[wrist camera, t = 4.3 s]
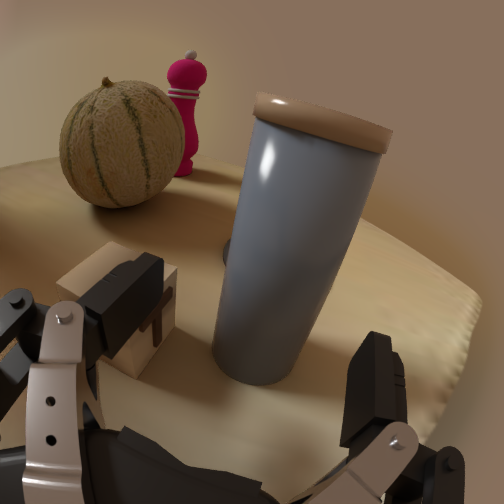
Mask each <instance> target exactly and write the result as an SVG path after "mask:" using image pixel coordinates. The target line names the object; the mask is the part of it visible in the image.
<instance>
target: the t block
mask: <svg viewBox="0 0 504 504" xmlns="http://www.w3.org/2000/svg"><path fill="white" fill-rule="evenodd" d="M141 254H142V253H139V252H137V251H134V250H132V249H129V248H127V247H124V246H122V245H119V244H117V243H114V242H112V241H110V242H108V243H107V244H105V245H104V246H103V247H101V248H100V249H99V250H97V251H96V252H94V253H93V254H92V255H90V256H89V257H88V258H86V259H85V260H84V261H82V262H81V263H80V264H78V265H77V266H76V267H74V268H73V269H72V270H70V271H69V272H68V273H67V274H65V275H64V276H63V277H62V278H60V279H59V280H58V281H56V286H57V290H58V294H59V298H60V302H61V301H73V302H75V301H77V300H78V299H79V298H80V297H81V296H82V295H83V294H85V293H86V292H87V291H88V290H89V289H90V288H91V287H92V286H94V285H95V284H96V283H97V282H98V281H99V280H100V279H101V280H102V278H103V277H104V276H105V275H106V274H109V272H110V271H111V270H112V269H113V268H115V267H116V266H117V265H118V264H121V263H123V262H126V261H128V260H132V261H134V260H135V259H137V258H138V257H139V256H140V255H141ZM176 281H177V267H175V266H173V265H170V264H167V263H165V262H164V290H163V295H162V298H161V300H160V302H159V304H158V305H157V306H156V307H155V308H154V310H153V311H152V312H151V313H150V314H149V316H148V317H147V318H146V319H145V320H144V321H143V323H142V324H141V325H140V326H139V327H138V329H137V330H136V331H135V332H134V333H133V335H132V336H131V337H130V338H129V339H128V341H127V342H126V343H125V344H124V346H123V347H122V348H121V349H120V350H119V352H118V353H117V354H116V355H115V357H114V358H113V359H112V360H111V359H109V358H107V357H106V356H104V355H101V357H100V358H99V359H100V360H102V361H104V362H105V363H107V364H109V365H111V366H112V367H114V368H116V369H118V370H119V371H121V372H123V373H125V374H127V375H128V376H130V377H132V378H134V379H137V378H138V376H139V375H140V374H141V372H142V371H143V369H144V368H145V367H146V365H147V364H148V362H149V361H150V360H151V358H152V357H153V355H154V354H155V353H156V351H157V350H158V348H159V347H160V346H161V344H162V343H163V341H164V340H165V339H166V337H167V336H168V334H169V333H170V332H171V330H172V329H173V328H174V326H175V300H176Z"/></svg>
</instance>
